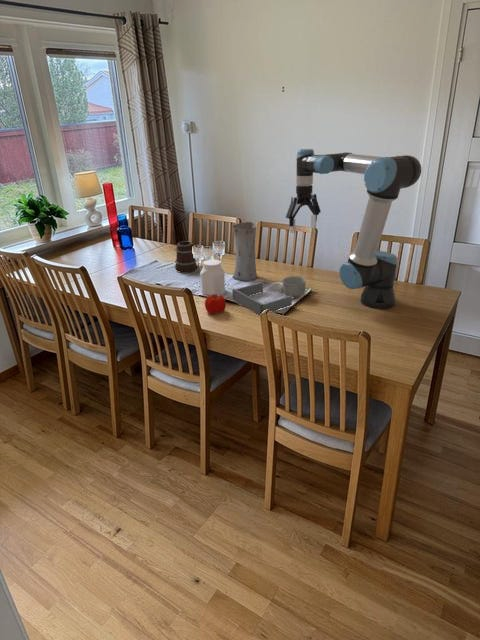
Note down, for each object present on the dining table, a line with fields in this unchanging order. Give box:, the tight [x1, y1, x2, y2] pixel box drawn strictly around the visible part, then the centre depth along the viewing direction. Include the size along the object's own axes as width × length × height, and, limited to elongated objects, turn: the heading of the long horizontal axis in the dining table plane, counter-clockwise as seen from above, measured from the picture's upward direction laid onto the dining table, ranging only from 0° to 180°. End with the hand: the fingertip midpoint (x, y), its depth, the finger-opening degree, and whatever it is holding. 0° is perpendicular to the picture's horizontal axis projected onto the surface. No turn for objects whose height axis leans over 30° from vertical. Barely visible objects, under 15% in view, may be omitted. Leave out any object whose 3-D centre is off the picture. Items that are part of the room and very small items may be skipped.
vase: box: [232, 221, 258, 282], centre depth 225 cm, size 13×14×28 cm
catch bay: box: [231, 281, 293, 316], centre depth 200 cm, size 22×17×5 cm
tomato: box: [204, 294, 227, 315], centre depth 192 cm, size 9×9×8 cm
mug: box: [174, 240, 198, 273], centre depth 243 cm, size 16×12×15 cm
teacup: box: [281, 274, 306, 299], centre depth 208 cm, size 14×11×8 cm
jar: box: [199, 259, 226, 296], centre depth 211 cm, size 12×10×15 cm
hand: (303, 230), depth 212 cm, fingers open, 13 cm apart
